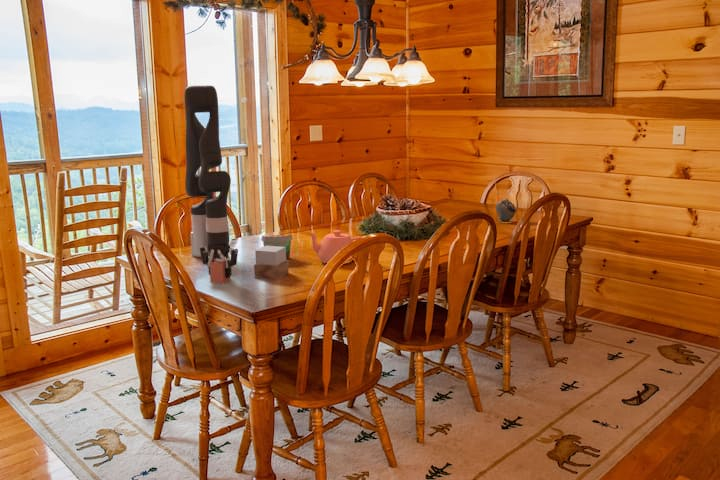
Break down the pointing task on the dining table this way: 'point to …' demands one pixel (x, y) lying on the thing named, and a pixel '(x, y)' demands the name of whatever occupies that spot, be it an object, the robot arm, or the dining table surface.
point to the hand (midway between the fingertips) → (220, 276)
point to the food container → (278, 242)
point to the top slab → (270, 255)
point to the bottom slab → (271, 271)
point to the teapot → (331, 244)
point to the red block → (218, 272)
